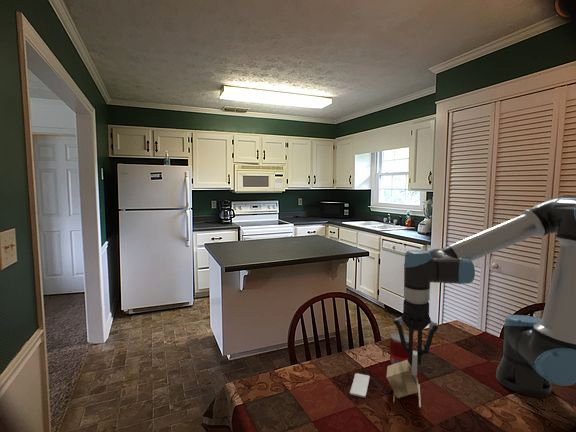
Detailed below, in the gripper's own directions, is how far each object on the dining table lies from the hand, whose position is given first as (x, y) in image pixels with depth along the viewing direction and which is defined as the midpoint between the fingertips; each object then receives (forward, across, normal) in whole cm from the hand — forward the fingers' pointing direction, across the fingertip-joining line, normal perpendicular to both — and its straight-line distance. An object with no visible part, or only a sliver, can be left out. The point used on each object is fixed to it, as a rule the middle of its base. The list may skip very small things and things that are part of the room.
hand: (414, 372), depth 101 cm
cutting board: (+8, +4, 0) cm, 9 cm away
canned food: (+8, +4, -18) cm, 21 cm away
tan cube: (+1, 0, 0) cm, 1 cm away
